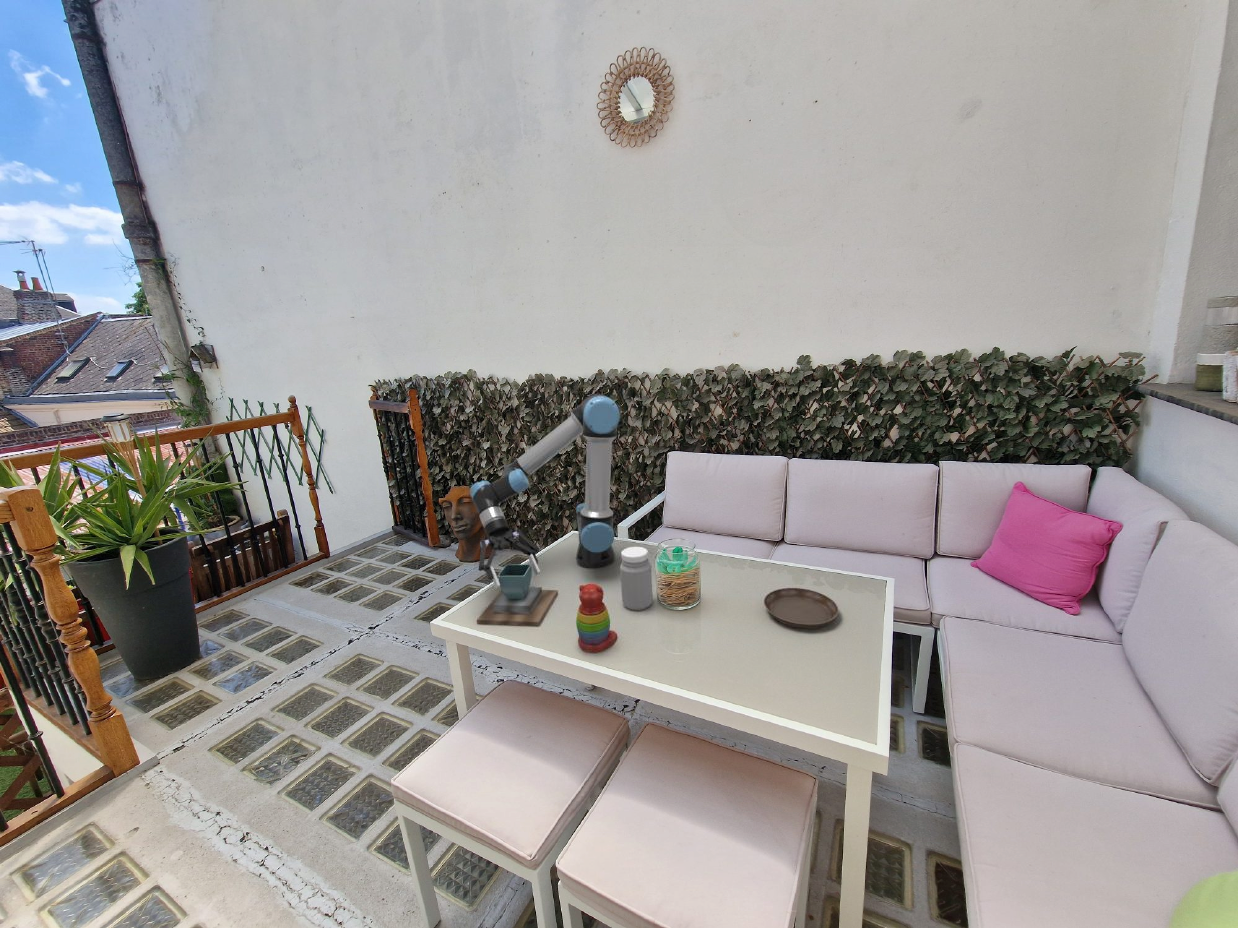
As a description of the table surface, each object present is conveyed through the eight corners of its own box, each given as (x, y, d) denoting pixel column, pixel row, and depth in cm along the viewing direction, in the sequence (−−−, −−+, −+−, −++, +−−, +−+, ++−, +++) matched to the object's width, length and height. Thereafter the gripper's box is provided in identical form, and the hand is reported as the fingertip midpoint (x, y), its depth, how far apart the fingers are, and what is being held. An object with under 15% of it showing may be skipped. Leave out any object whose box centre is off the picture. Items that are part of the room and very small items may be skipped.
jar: (630, 614, 155) (626, 560, 151) (617, 601, 164) (613, 549, 160) (658, 606, 159) (655, 553, 155) (644, 593, 168) (641, 543, 163)
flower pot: (534, 588, 166) (531, 563, 164) (527, 602, 158) (524, 575, 156) (508, 589, 167) (505, 564, 165) (500, 602, 159) (496, 576, 157)
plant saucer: (848, 610, 150) (849, 600, 149) (821, 642, 135) (821, 631, 135) (782, 590, 164) (782, 581, 163) (751, 618, 149) (751, 607, 149)
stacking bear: (619, 635, 145) (615, 578, 141) (607, 655, 135) (602, 595, 131) (584, 630, 148) (579, 574, 144) (570, 650, 139) (564, 591, 135)
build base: (558, 594, 171) (556, 581, 170) (539, 626, 152) (537, 612, 151) (502, 592, 175) (500, 580, 174) (477, 624, 156) (475, 610, 155)
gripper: (526, 519, 177) (550, 573, 169) (456, 538, 164) (478, 597, 155) (531, 508, 172) (556, 563, 163) (459, 527, 158) (482, 588, 150)
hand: (518, 580), depth 159 cm, fingers open, 13 cm apart
